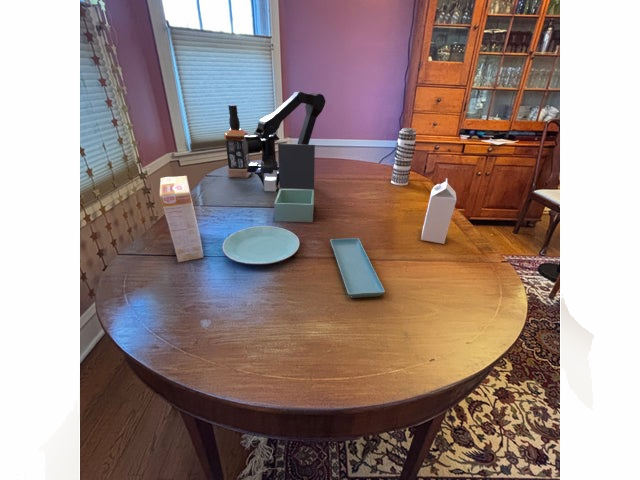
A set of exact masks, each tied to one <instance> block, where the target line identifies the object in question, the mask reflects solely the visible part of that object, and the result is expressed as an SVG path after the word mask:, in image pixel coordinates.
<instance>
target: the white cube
mask: <svg viewBox="0 0 640 480" xmlns="http://www.w3.org/2000/svg"><path fill="white" fill-rule="evenodd" d="M264 178H265V179H264V186H263V189H264V192H277V189H278V188H277V186H276V183H277V176H264Z"/></svg>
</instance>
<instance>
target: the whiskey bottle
mask: <svg viewBox="0 0 640 480" xmlns="http://www.w3.org/2000/svg"><path fill="white" fill-rule="evenodd" d="M228 114H229V118H228V119H229V121H228V123H229V127H230V129H228V130H227V131H226V132H225V133H224V134H223V139H224V140H225V147H226V148H225V149H226V158H227V165H228V168H227V174H228V178H240V179H241V178H242V179H244V178H245V179H247V178H249V177H250V176H251V175H252V173H251V172H247V166H248V165H249V164H250V163H251V160H250V154H245V152H244V150H243V146H242V144H243V140H244V136H249V135H248V132H247V131H245V130H243V129H241V122H240V119H239V116H238V106H237V105H236V104H229V105H228Z"/></svg>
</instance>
